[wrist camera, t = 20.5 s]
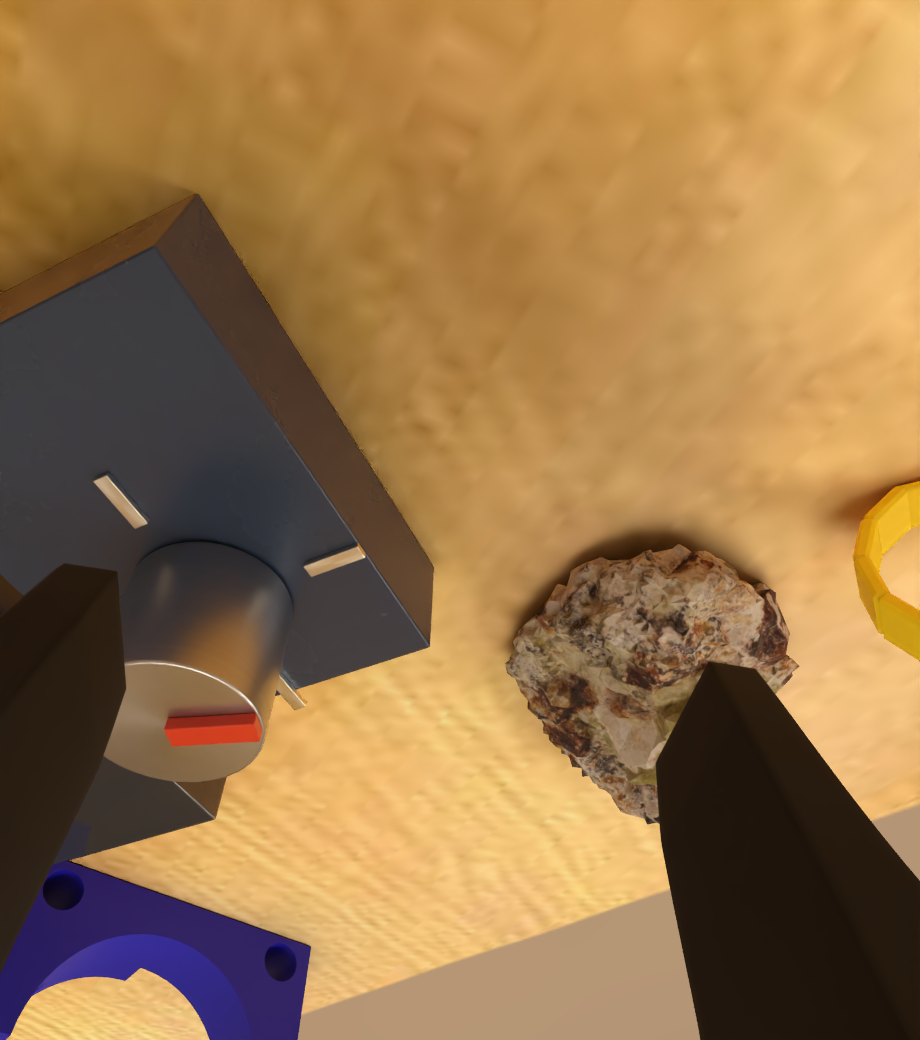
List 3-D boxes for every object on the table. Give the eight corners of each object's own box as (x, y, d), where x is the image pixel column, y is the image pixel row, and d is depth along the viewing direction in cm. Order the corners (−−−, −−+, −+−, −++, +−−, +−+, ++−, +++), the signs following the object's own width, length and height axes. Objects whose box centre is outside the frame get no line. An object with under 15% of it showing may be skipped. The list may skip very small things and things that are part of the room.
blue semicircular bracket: (-3, 899, 34) (-78, 1065, 30) (38, 851, 32) (-36, 1022, 27) (258, 984, 39) (229, 1141, 34) (310, 947, 37) (287, 1109, 32)
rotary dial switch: (-95, 341, 19) (-179, 413, 17) (198, 191, 17) (151, 248, 15) (202, 661, 26) (173, 747, 23) (442, 579, 24) (439, 665, 21)
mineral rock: (479, 598, 21) (834, 645, 19) (519, 488, 24) (826, 518, 22) (507, 832, 28) (768, 887, 25) (535, 723, 31) (770, 763, 29)
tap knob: (159, 663, 21) (106, 799, 18) (105, 546, 19) (34, 680, 16) (308, 654, 21) (281, 790, 18) (272, 534, 19) (233, 667, 16)
